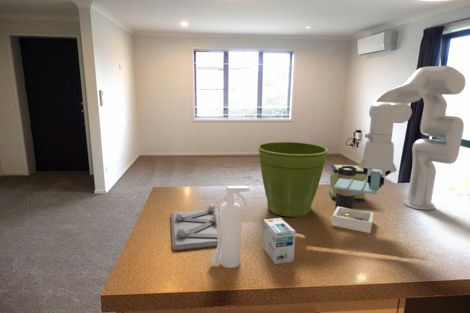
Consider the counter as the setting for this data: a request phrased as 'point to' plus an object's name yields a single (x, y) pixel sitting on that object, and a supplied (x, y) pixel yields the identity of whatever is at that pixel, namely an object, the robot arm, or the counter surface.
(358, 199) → the protein box
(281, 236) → the light bulb box
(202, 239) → the grey zigzag panel
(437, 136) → the robot arm
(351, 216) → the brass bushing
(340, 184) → the lid
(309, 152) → the plant pot
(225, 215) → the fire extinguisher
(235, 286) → the counter surface
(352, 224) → the tub
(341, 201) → the travel mug
